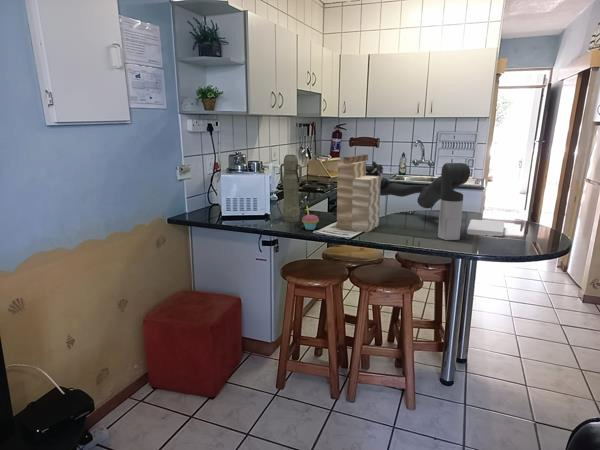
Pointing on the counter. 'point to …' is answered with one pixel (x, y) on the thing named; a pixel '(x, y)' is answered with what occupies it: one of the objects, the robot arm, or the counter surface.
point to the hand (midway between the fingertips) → (365, 162)
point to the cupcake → (310, 221)
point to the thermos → (291, 188)
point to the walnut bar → (355, 158)
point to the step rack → (357, 197)
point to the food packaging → (485, 228)
